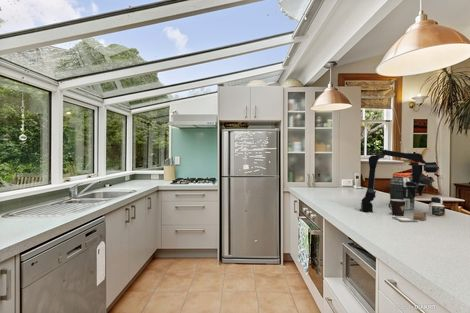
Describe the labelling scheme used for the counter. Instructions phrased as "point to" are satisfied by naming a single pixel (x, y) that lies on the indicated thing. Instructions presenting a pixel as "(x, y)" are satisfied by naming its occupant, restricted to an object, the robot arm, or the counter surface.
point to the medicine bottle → (437, 207)
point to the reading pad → (404, 219)
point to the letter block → (419, 215)
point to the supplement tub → (401, 189)
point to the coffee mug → (397, 207)
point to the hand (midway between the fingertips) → (417, 196)
